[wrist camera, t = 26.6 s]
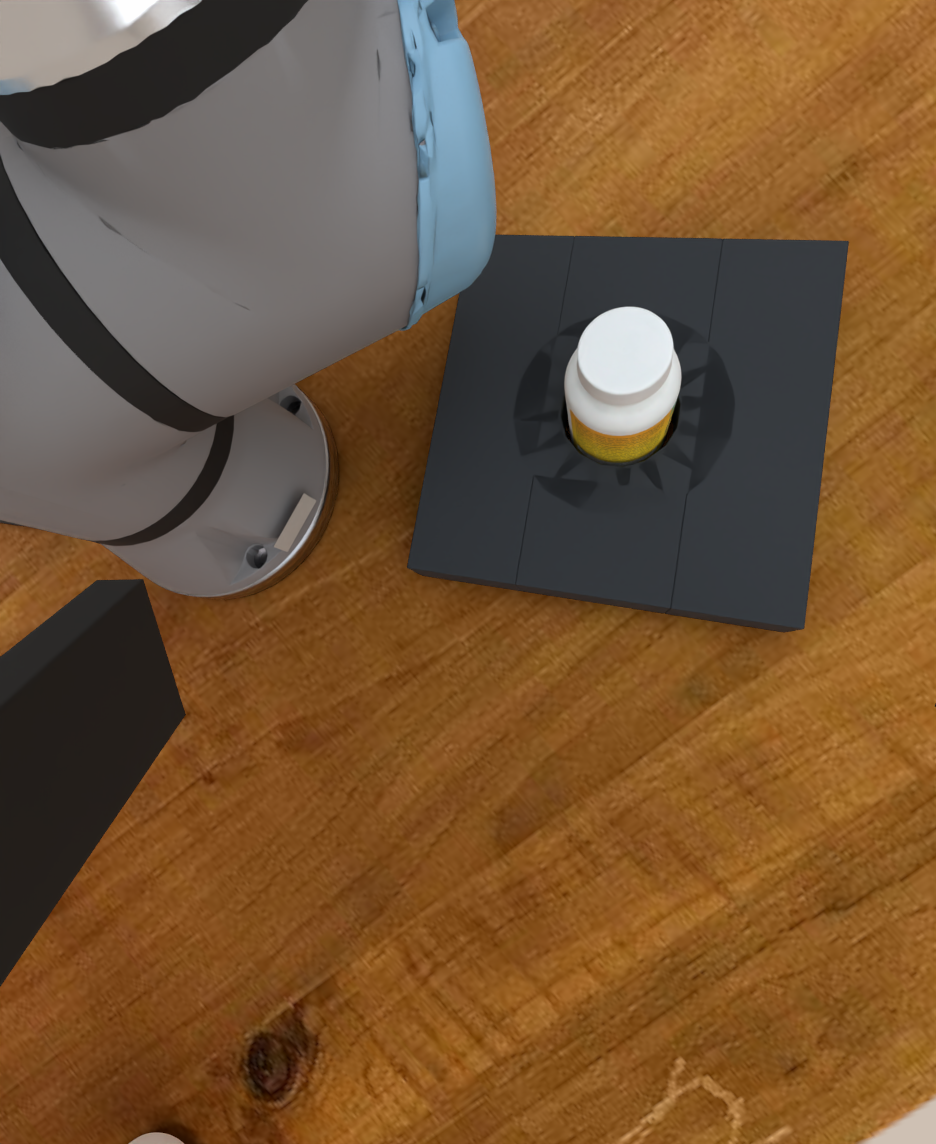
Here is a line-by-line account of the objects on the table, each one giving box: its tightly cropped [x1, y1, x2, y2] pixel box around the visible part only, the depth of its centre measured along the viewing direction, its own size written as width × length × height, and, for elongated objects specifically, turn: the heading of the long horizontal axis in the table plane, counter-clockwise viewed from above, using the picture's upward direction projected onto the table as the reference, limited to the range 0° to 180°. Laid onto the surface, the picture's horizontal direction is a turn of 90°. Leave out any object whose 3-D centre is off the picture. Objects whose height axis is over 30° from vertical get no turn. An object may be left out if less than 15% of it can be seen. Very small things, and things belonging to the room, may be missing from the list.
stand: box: [407, 235, 849, 632], centre depth 33 cm, size 20×20×3 cm
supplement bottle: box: [564, 307, 681, 466], centre depth 30 cm, size 5×5×10 cm
